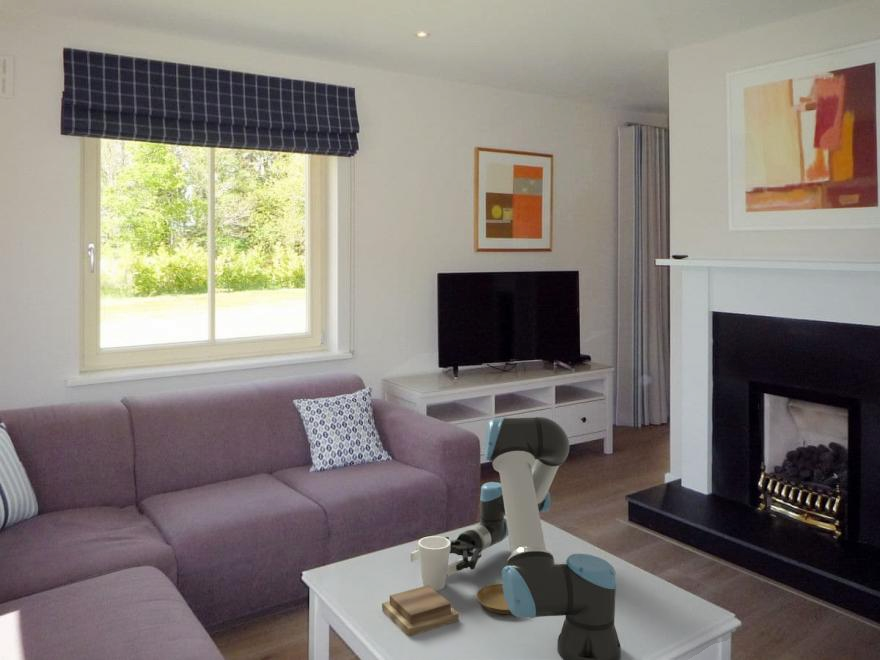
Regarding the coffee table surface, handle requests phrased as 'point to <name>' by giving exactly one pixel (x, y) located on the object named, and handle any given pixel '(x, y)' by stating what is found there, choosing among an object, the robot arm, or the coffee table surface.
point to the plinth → (421, 624)
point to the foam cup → (434, 560)
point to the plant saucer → (493, 599)
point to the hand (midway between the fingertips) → (429, 564)
